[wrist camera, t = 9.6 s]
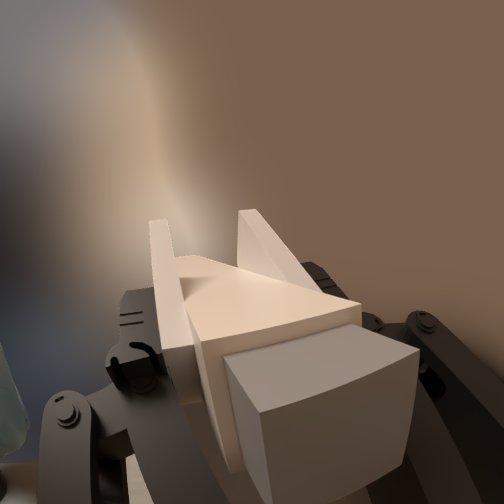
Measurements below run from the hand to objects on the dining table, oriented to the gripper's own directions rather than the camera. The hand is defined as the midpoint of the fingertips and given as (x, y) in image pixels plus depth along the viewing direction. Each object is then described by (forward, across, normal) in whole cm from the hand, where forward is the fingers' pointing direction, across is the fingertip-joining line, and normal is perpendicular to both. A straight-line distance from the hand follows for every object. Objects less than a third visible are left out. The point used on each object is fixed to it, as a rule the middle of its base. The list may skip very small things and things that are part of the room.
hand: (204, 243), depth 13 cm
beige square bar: (+2, 0, -6) cm, 6 cm away
